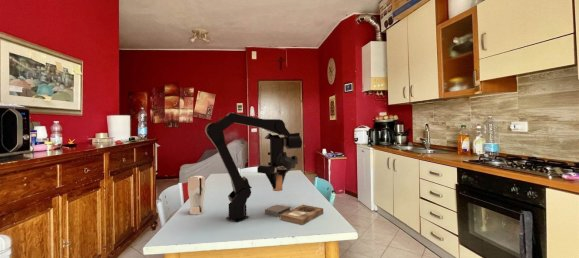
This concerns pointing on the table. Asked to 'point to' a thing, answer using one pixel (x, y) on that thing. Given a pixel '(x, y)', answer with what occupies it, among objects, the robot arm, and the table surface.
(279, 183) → the peg
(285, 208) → the tab
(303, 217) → the hole plate
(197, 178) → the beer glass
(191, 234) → the table surface
